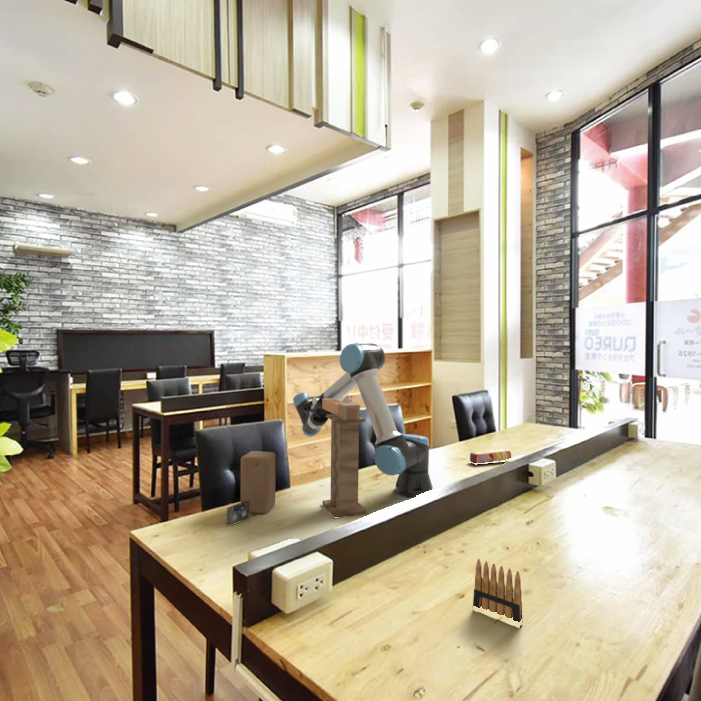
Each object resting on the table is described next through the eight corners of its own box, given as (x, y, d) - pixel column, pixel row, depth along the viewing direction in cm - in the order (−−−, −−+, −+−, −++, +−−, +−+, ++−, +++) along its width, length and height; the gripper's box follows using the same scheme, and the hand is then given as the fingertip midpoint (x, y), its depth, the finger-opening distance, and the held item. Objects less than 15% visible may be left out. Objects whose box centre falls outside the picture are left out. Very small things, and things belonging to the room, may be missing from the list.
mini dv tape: (245, 517, 158) (245, 500, 158) (248, 518, 157) (248, 501, 157) (226, 525, 152) (226, 507, 151) (229, 526, 151) (229, 508, 151)
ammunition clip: (472, 610, 105) (473, 559, 104) (475, 607, 106) (476, 556, 106) (519, 629, 98) (521, 574, 98) (522, 625, 100) (523, 570, 99)
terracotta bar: (319, 408, 185) (320, 396, 184) (333, 407, 187) (334, 395, 187) (343, 420, 158) (343, 405, 158) (359, 419, 161) (359, 404, 160)
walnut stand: (322, 504, 171) (323, 414, 170) (352, 500, 175) (353, 412, 175) (334, 518, 158) (335, 420, 157) (366, 514, 162) (367, 418, 162)
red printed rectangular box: (476, 466, 226) (476, 453, 226) (468, 463, 232) (468, 450, 232) (511, 463, 233) (512, 450, 233) (503, 460, 239) (503, 447, 239)
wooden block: (265, 515, 160) (266, 458, 160) (239, 512, 162) (239, 456, 162) (276, 505, 170) (276, 451, 170) (250, 502, 172) (251, 450, 172)
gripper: (346, 424, 200) (363, 406, 182) (290, 428, 191) (302, 409, 173) (343, 408, 203) (359, 389, 186) (288, 411, 194) (300, 390, 177)
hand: (332, 398), depth 180 cm, fingers open, 13 cm apart
